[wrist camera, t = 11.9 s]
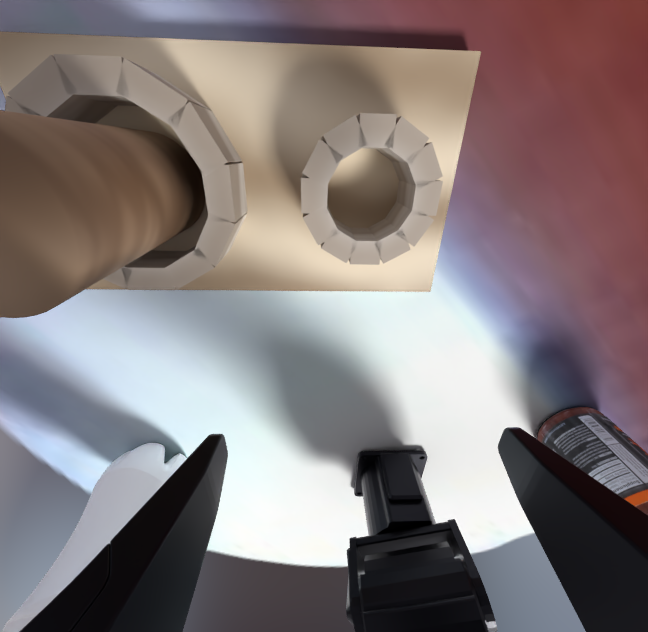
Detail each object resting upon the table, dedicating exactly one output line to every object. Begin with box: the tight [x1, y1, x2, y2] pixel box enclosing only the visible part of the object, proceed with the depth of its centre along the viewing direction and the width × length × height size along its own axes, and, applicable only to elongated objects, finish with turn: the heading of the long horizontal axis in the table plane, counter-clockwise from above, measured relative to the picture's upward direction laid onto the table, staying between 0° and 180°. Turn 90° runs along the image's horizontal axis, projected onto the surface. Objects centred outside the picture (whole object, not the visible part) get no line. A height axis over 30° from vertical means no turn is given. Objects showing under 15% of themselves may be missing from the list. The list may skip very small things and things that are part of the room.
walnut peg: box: [0, 110, 205, 318], centre depth 11 cm, size 5×5×10 cm
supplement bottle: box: [537, 407, 648, 515], centre depth 23 cm, size 6×6×11 cm
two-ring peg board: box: [0, 32, 481, 292], centre depth 15 cm, size 12×22×4 cm, turn 89°
